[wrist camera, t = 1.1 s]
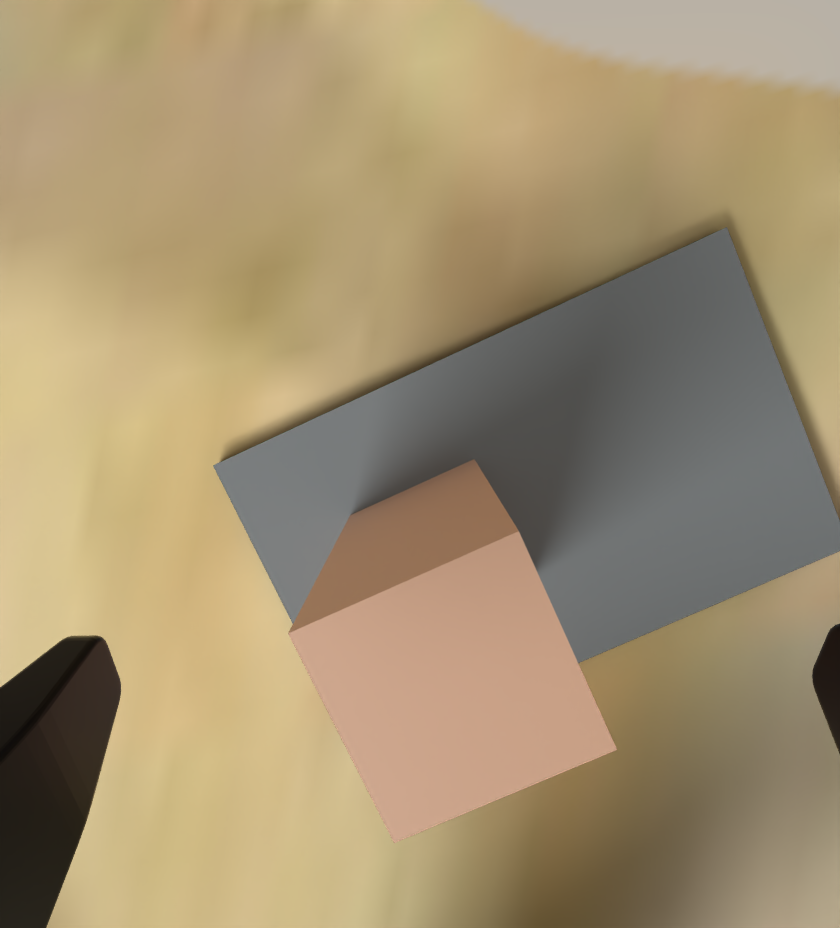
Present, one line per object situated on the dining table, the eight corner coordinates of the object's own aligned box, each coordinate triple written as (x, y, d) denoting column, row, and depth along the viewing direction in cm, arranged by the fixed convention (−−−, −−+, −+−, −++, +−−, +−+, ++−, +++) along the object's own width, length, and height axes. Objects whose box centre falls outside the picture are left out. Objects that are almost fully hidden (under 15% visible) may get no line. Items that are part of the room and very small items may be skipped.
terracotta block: (407, 633, 20) (394, 843, 11) (350, 515, 19) (287, 633, 10) (529, 580, 20) (617, 749, 11) (474, 459, 19) (519, 531, 10)
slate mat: (361, 747, 21) (359, 756, 20) (218, 463, 20) (212, 465, 19) (839, 542, 20) (849, 546, 19) (718, 230, 19) (726, 227, 18)
